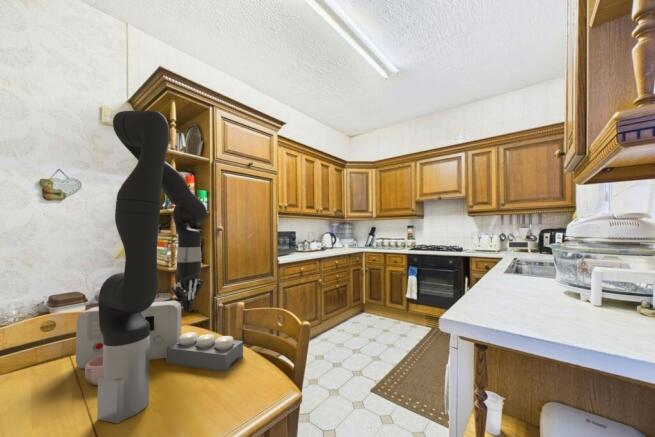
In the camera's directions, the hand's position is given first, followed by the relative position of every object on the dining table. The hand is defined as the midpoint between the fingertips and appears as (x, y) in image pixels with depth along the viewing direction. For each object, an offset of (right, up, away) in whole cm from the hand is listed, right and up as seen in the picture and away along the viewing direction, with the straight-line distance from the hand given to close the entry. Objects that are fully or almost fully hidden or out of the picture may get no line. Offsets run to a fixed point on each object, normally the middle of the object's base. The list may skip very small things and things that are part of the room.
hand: (187, 310), depth 90 cm
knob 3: (+14, -15, -4) cm, 20 cm away
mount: (+7, -16, -2) cm, 18 cm away
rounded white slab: (-18, -16, -1) cm, 25 cm away
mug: (-17, -16, -12) cm, 26 cm away
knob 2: (+7, -15, -2) cm, 16 cm away
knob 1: (0, -15, 0) cm, 15 cm away
